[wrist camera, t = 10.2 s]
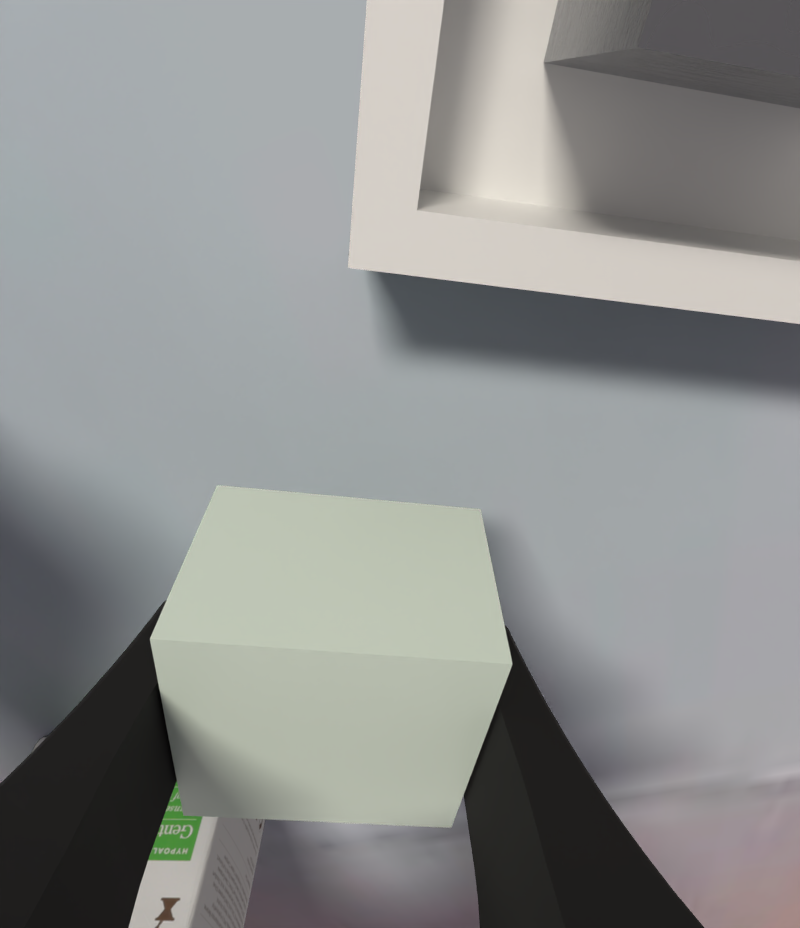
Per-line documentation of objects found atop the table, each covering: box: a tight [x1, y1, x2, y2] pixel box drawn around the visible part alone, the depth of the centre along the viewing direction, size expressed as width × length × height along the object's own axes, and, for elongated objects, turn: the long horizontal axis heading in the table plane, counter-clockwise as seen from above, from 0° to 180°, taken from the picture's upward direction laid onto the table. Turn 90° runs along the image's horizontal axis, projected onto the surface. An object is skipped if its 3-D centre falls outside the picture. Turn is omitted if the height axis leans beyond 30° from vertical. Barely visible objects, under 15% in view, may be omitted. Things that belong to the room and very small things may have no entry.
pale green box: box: [150, 485, 512, 828], centre depth 11 cm, size 5×5×4 cm
